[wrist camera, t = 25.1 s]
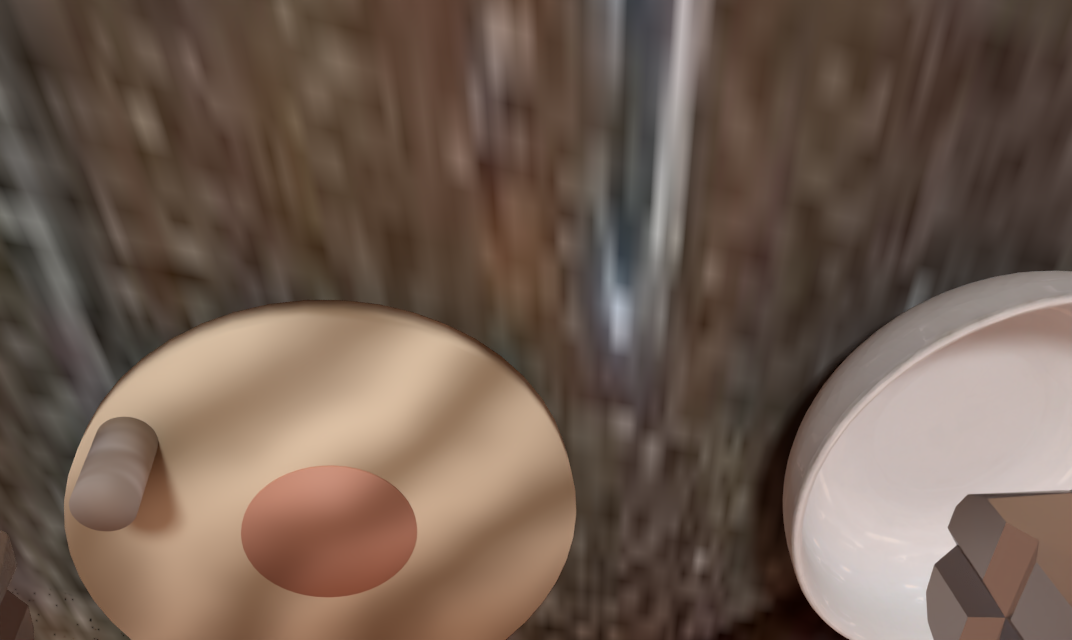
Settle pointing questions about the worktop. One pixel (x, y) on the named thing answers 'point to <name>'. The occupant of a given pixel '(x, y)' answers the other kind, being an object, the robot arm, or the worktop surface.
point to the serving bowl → (926, 444)
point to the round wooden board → (320, 483)
